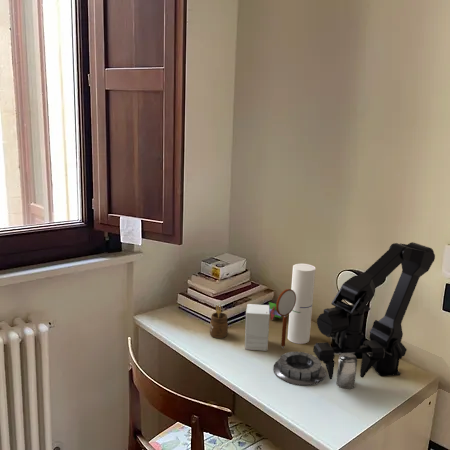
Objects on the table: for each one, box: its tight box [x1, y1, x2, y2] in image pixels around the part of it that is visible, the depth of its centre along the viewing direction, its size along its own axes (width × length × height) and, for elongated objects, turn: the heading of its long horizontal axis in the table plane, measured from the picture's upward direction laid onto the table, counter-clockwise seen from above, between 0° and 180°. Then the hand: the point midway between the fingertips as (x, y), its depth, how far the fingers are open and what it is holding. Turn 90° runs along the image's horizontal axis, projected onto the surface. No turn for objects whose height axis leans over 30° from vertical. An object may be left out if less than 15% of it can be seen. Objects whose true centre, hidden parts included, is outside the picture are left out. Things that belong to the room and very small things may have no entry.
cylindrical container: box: [287, 263, 317, 345], centre depth 167 cm, size 7×7×25 cm
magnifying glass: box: [275, 288, 296, 349], centre depth 161 cm, size 9×2×20 cm, turn 132°
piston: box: [335, 354, 358, 390], centre depth 143 cm, size 5×5×9 cm
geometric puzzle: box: [266, 299, 283, 321], centre depth 184 cm, size 7×7×8 cm
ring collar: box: [272, 351, 326, 387], centre depth 150 cm, size 15×15×3 cm
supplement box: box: [244, 303, 271, 352], centre depth 163 cm, size 7×7×13 cm
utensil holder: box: [209, 301, 229, 339], centre depth 169 cm, size 6×6×12 cm
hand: (346, 377), depth 144 cm, fingers open, 9 cm apart
